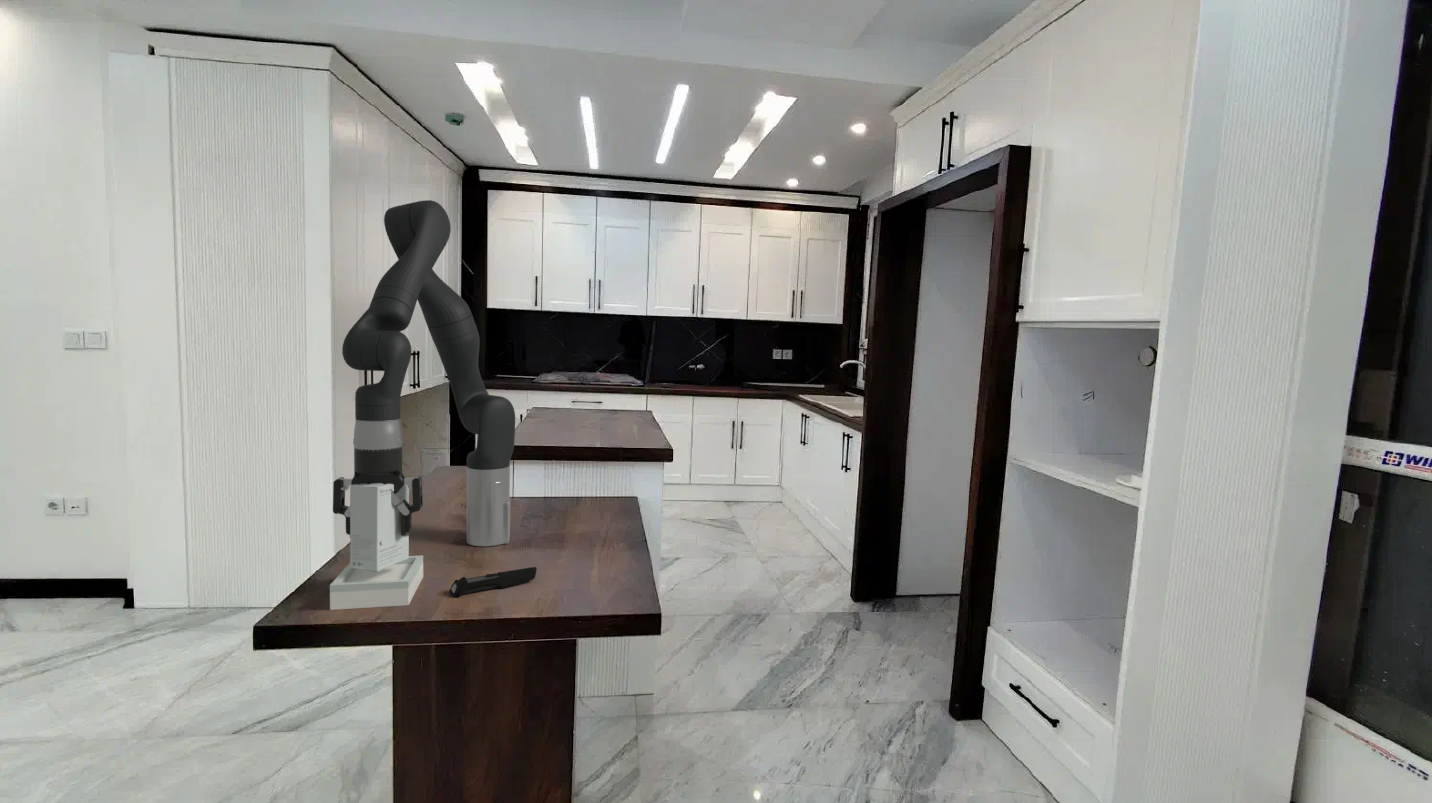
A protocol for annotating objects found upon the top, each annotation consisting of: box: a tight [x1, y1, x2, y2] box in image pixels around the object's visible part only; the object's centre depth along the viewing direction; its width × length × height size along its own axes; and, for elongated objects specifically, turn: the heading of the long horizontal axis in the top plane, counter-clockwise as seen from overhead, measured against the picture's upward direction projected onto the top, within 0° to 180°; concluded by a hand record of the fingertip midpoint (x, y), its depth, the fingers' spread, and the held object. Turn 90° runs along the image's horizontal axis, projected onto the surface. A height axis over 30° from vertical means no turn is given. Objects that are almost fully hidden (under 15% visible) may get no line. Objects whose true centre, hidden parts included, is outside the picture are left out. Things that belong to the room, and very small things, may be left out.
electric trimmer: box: [449, 566, 538, 598], centre depth 122 cm, size 4×16×3 cm, turn 125°
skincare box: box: [349, 483, 410, 572], centre depth 117 cm, size 8×6×15 cm
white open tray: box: [329, 554, 424, 611], centre depth 117 cm, size 12×14×4 cm
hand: (379, 535), depth 117 cm, fingers closed on skincare box, 8 cm apart
